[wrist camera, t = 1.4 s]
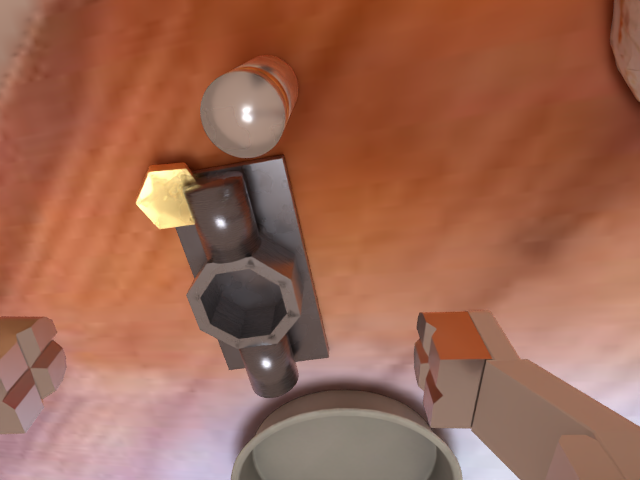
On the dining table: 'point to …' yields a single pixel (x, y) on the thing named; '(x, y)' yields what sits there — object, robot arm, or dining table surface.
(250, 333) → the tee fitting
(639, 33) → the cake
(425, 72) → the dining table surface
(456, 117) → the dining table surface
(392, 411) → the cake pan
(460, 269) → the dining table surface
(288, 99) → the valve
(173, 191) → the yellow piece
